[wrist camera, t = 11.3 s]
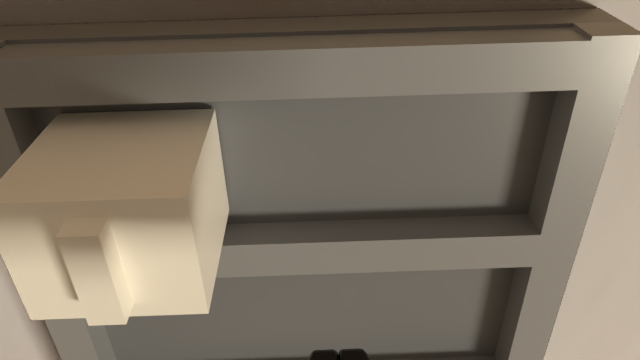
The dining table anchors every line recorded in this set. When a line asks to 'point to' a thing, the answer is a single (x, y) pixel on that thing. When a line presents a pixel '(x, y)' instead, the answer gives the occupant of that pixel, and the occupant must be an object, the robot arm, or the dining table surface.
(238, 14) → the dining table surface
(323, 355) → the robot arm
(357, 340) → the gray shelf unit
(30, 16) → the dining table surface
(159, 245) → the tab
